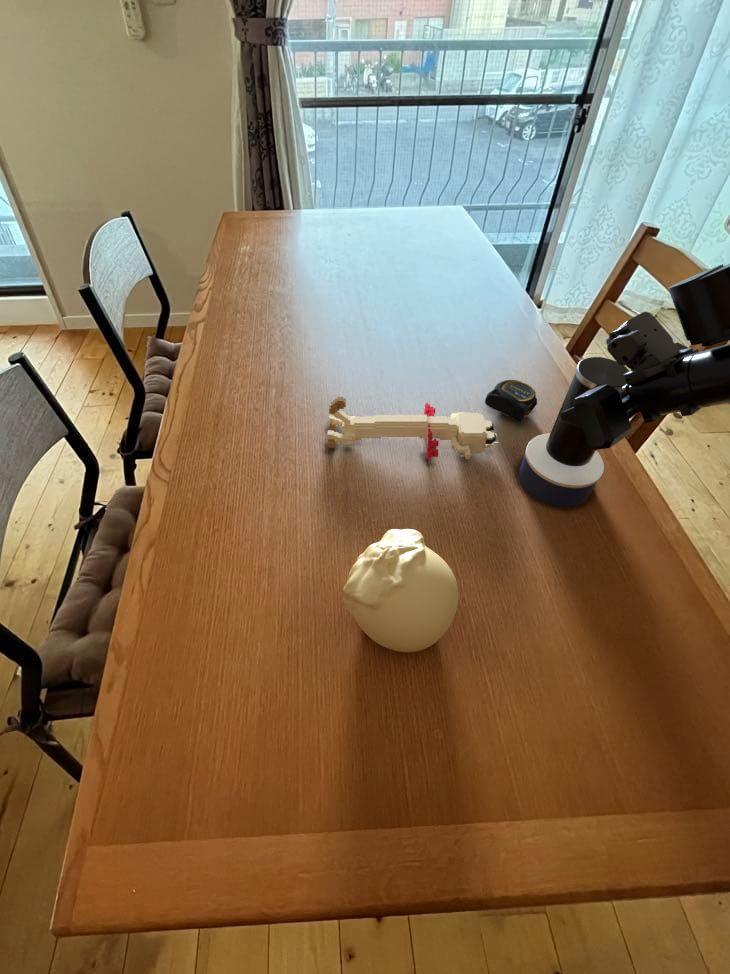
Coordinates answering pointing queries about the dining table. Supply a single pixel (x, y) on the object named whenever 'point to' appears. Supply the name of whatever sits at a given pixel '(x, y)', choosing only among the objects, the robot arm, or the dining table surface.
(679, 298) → the robot arm
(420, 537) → the sculpture
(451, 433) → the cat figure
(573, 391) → the tube
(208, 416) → the dining table surface
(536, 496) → the coffee tin
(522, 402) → the tape measure
